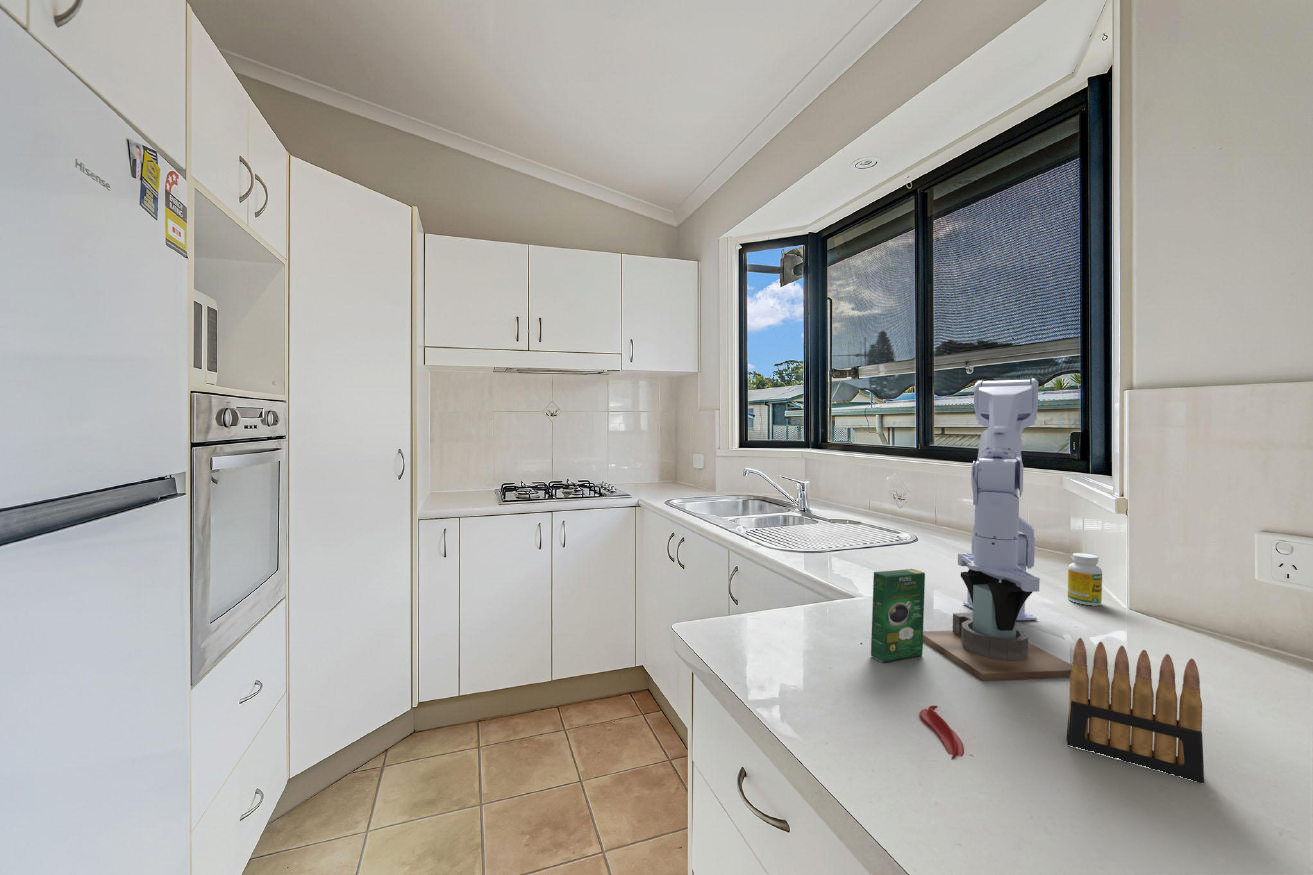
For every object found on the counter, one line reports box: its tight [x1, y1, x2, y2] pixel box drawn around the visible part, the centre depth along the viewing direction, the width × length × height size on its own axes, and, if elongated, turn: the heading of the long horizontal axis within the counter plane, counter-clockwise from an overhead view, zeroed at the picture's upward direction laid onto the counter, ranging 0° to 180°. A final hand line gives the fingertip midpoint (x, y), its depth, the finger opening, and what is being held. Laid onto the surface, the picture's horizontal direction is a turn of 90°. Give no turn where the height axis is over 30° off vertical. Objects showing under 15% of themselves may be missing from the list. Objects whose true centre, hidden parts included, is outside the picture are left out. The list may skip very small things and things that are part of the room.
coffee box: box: [870, 568, 926, 663], centre depth 80 cm, size 8×3×13 cm, turn 110°
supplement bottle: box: [1067, 552, 1103, 607], centre depth 106 cm, size 5×5×10 cm
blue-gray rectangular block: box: [972, 584, 1017, 639], centre depth 81 cm, size 4×4×8 cm
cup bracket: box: [923, 612, 1072, 682], centre depth 81 cm, size 15×15×4 cm
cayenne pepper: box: [919, 705, 965, 760], centre depth 61 cm, size 12×5×2 cm, turn 151°
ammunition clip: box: [1066, 637, 1205, 785], centre depth 56 cm, size 11×2×12 cm, turn 55°
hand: (993, 623), depth 81 cm, fingers closed on blue-gray rectangular block, 4 cm apart
